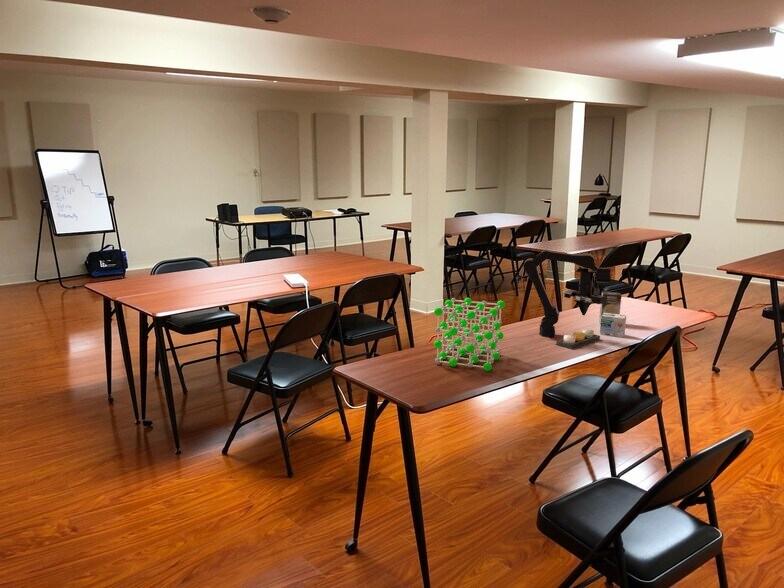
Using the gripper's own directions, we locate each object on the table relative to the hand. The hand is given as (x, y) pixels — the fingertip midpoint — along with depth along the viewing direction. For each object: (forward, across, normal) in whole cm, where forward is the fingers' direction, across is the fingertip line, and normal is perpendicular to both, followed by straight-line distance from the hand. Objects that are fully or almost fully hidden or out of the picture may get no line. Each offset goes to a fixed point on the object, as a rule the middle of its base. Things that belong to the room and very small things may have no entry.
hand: (583, 315), depth 275 cm
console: (+12, -2, +6) cm, 14 cm away
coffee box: (+13, +9, -37) cm, 40 cm away
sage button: (+11, -2, 0) cm, 11 cm away
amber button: (+11, -2, +7) cm, 13 cm away
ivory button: (+11, -3, +14) cm, 17 cm away
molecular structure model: (+13, +15, +59) cm, 62 cm away
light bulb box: (+13, -5, -17) cm, 22 cm away
